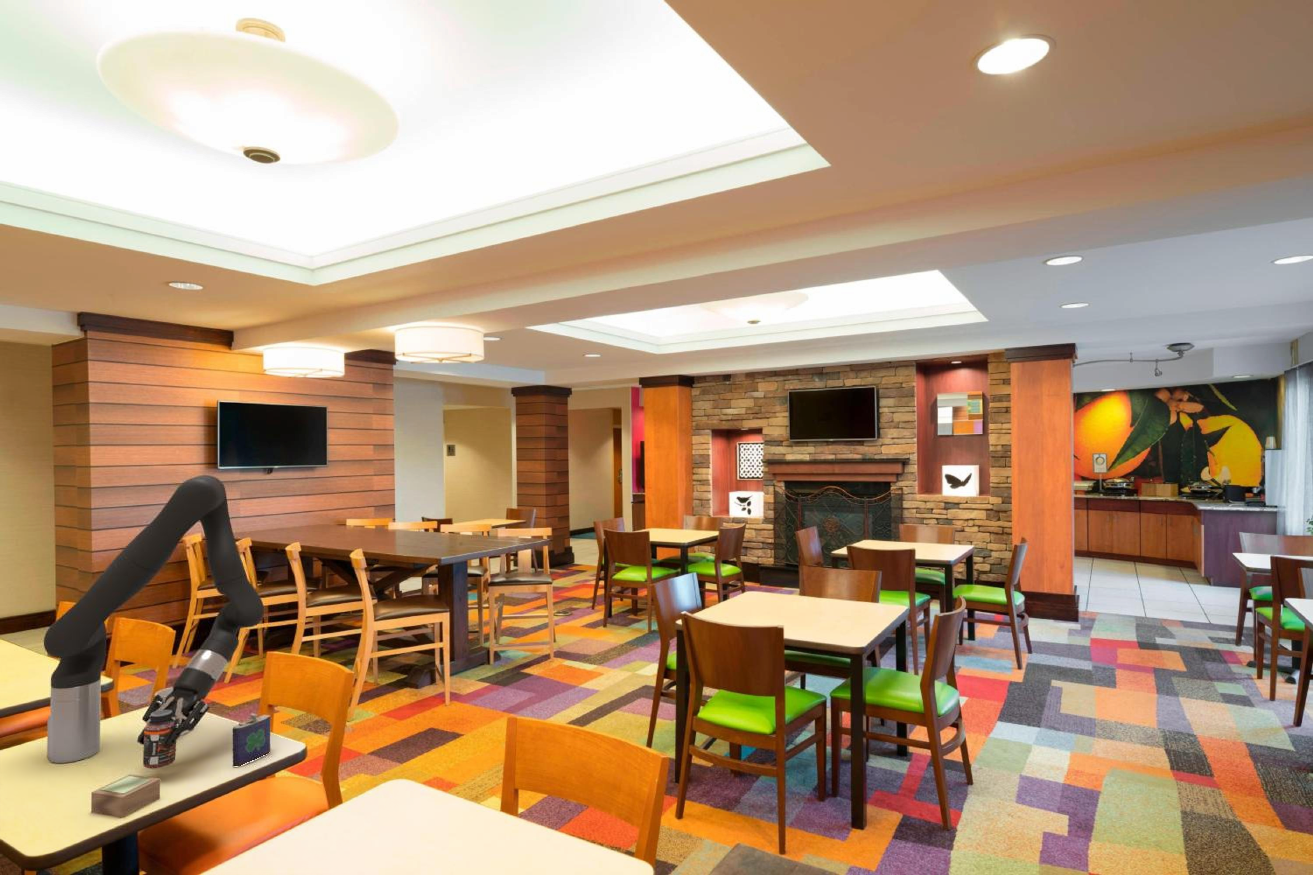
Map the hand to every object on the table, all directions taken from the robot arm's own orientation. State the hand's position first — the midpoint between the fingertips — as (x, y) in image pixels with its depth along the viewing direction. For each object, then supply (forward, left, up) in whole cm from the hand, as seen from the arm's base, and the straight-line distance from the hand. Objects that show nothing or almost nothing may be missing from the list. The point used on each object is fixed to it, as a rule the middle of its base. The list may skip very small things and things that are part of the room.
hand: (153, 744), depth 155 cm
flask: (+12, +15, -8) cm, 21 cm away
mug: (-18, +21, -8) cm, 28 cm away
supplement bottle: (0, +2, -5) cm, 5 cm away
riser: (+4, -9, -8) cm, 13 cm away
